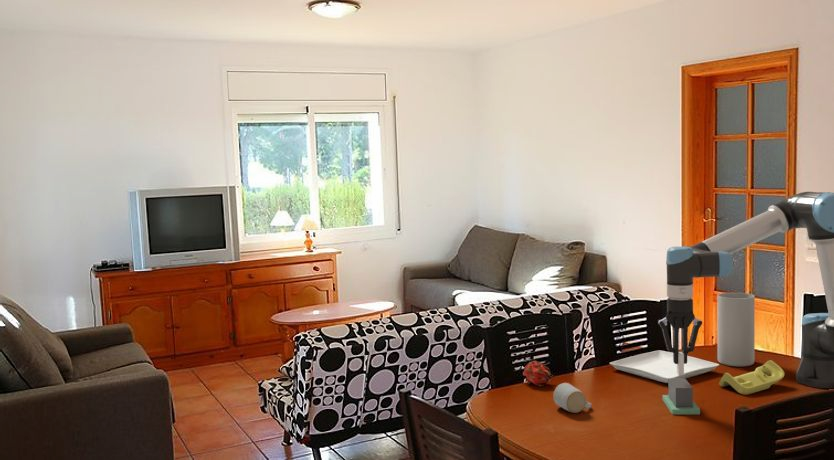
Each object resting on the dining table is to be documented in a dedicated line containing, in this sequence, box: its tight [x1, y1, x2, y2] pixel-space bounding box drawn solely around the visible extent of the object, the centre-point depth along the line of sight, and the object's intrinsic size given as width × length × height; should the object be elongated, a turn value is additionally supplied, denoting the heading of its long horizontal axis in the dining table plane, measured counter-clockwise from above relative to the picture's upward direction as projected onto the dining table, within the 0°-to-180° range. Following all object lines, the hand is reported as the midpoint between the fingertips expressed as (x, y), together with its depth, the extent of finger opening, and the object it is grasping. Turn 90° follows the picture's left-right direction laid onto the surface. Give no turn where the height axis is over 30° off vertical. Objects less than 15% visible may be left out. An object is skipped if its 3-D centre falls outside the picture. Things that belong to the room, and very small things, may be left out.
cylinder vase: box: [716, 292, 756, 368], centre depth 279 cm, size 12×12×25 cm
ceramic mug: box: [552, 382, 592, 414], centre depth 235 cm, size 11×8×8 cm
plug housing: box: [667, 378, 694, 407], centre depth 236 cm, size 14×5×6 cm, turn 174°
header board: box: [662, 394, 701, 415], centre depth 234 cm, size 8×14×5 cm, turn 174°
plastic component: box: [718, 360, 785, 395], centre depth 251 cm, size 20×7×10 cm
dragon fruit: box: [521, 360, 554, 387], centre depth 263 cm, size 8×8×12 cm
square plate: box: [609, 349, 720, 384], centre depth 272 cm, size 27×27×4 cm
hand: (680, 373), depth 233 cm, fingers closed
